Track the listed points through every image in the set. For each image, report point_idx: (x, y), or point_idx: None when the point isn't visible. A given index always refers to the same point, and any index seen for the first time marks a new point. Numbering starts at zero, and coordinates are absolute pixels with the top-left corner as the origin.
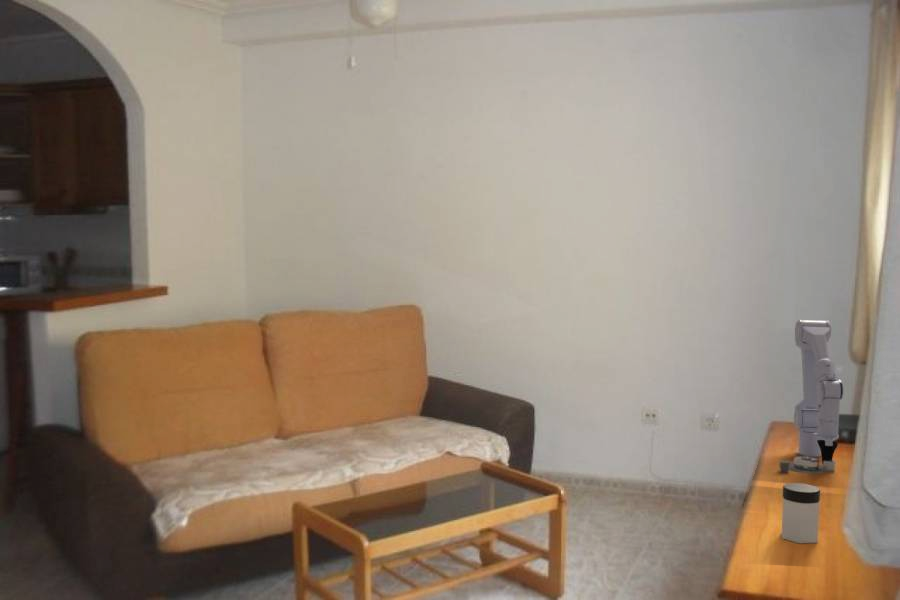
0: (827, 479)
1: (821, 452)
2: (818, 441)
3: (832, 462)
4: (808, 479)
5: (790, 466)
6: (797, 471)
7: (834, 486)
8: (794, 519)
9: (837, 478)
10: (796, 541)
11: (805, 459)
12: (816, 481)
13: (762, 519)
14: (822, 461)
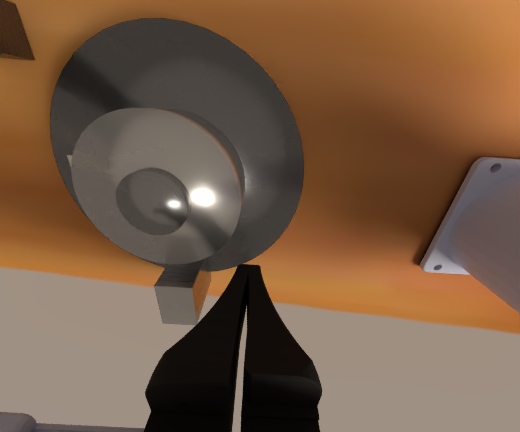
0: (115, 246)
1: (210, 310)
2: (189, 386)
3: (163, 312)
4: (57, 173)
5: (169, 86)
6: (59, 124)
7: (21, 256)
8: None
9: (154, 278)
10: None
11: (119, 193)
12: (47, 204)
13: None
14: (236, 272)
